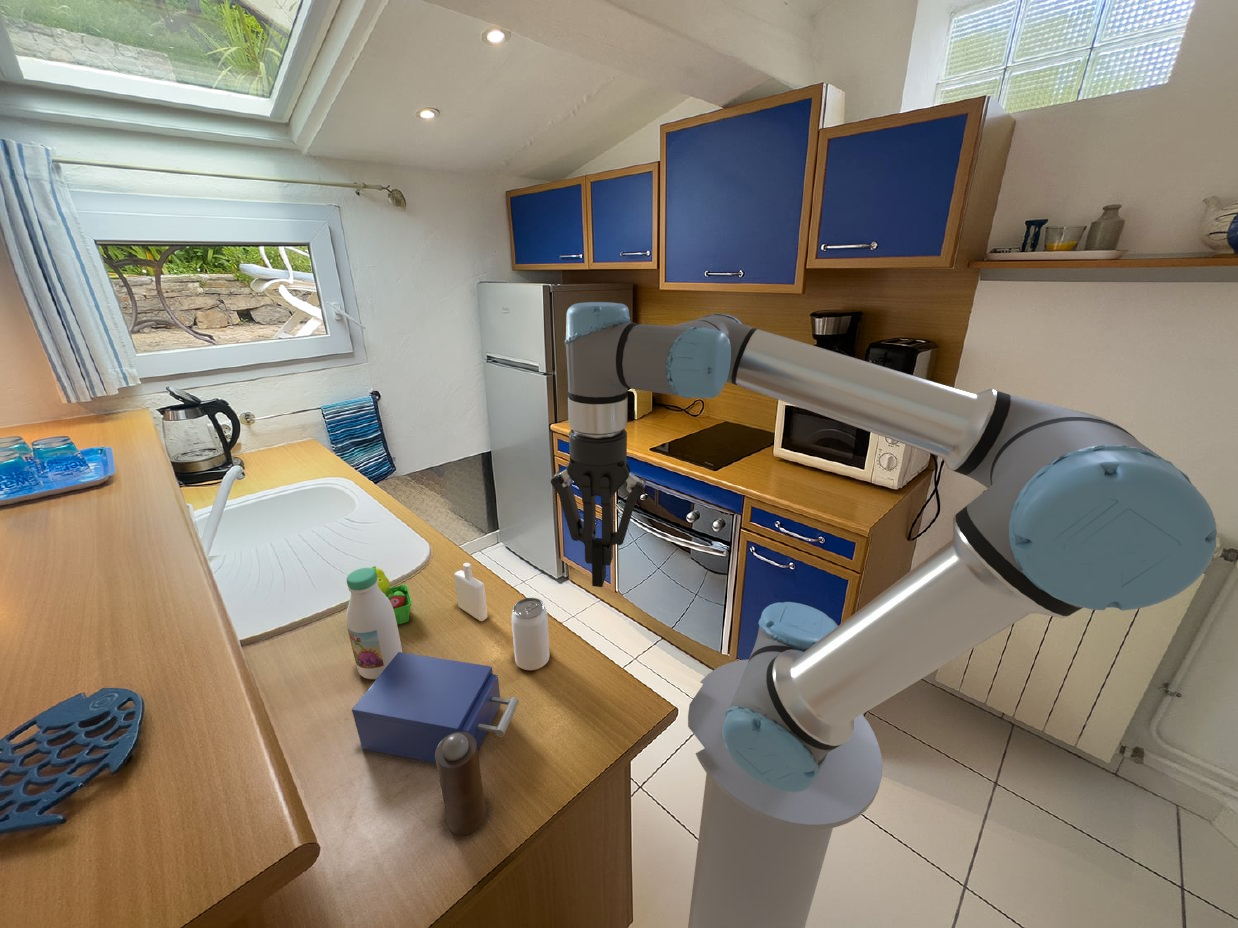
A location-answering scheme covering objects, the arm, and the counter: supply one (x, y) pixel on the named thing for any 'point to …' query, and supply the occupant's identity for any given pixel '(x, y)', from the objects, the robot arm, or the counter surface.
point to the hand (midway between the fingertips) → (599, 580)
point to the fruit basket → (395, 597)
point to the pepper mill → (461, 782)
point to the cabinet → (417, 704)
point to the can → (530, 634)
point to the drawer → (488, 712)
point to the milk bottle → (371, 624)
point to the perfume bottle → (470, 593)
